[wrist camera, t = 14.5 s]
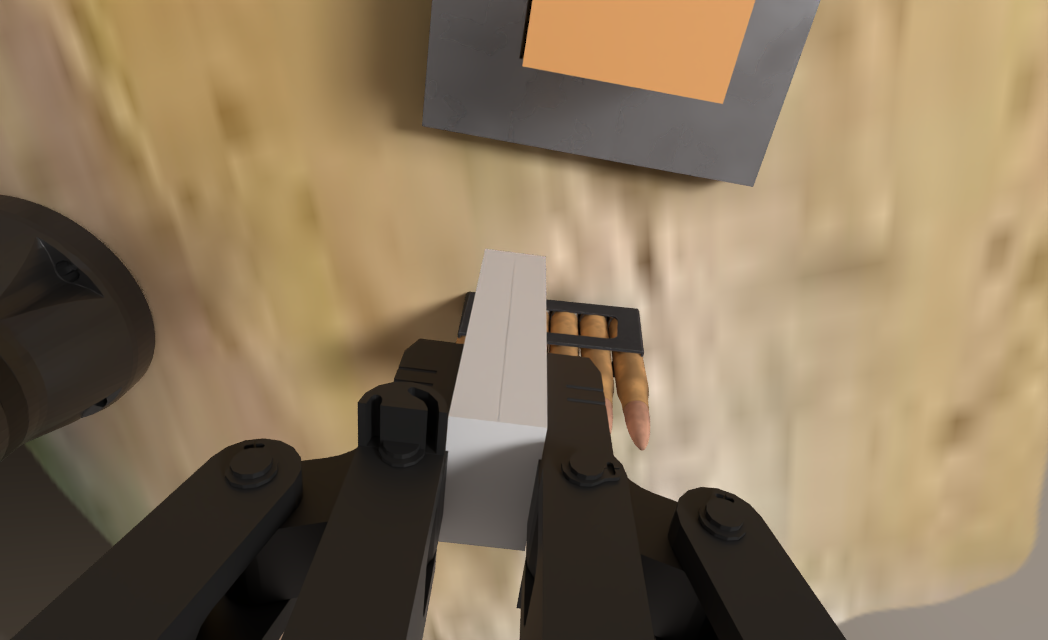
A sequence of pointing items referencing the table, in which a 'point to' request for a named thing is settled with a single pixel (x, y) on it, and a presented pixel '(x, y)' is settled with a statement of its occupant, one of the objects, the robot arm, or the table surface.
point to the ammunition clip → (599, 353)
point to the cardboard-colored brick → (641, 42)
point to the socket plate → (609, 94)
